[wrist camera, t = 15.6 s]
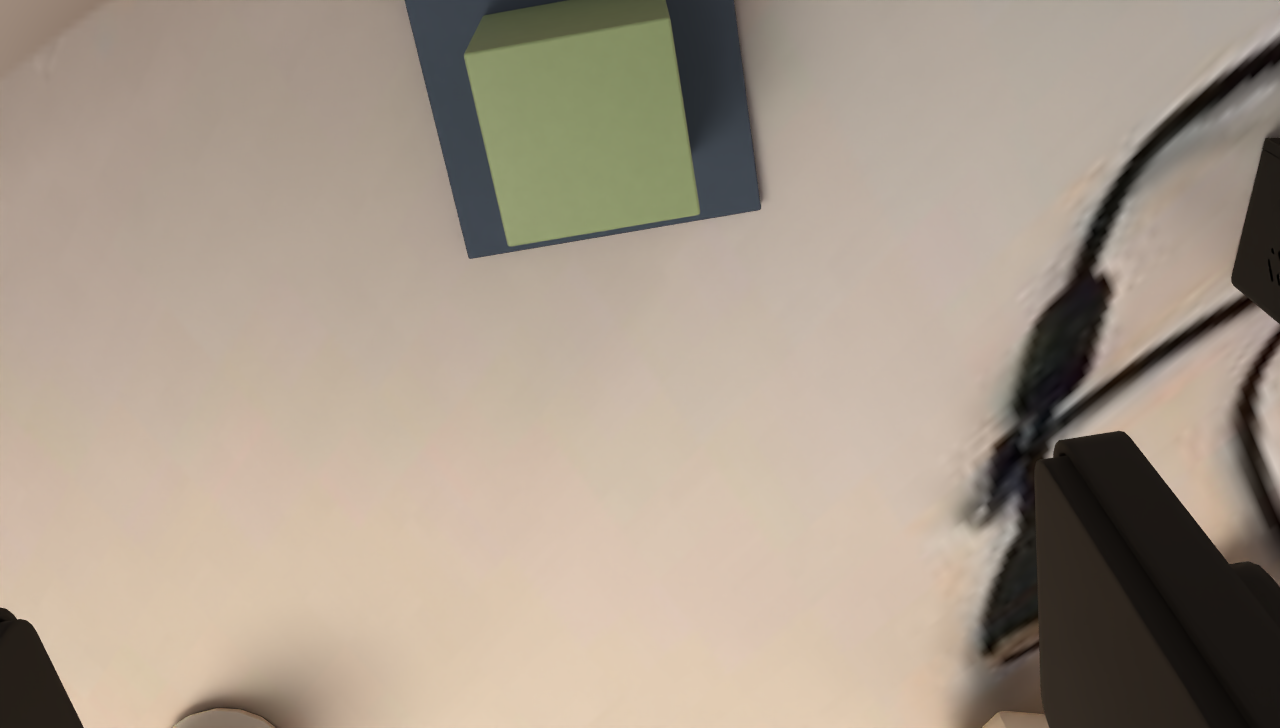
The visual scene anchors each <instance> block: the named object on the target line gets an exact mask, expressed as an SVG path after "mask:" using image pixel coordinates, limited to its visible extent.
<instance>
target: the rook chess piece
mask: <svg viewBox="0 0 1280 728" xmlns="http://www.w3.org/2000/svg"><path fill="white" fill-rule="evenodd" d="M172 728H275V727H274V726H273V725H271V724H270V723H269V722H268V721H266V720H265V719H264V718H263V717H260V716H258V715H255V714H252V713H250V712H247V711H244V710H241V709H228V708H215V709H211V710H208V711H204V712H200V713H196V714H193V715H190V716H187V717H185V718H184V719H183V720H181V721H180V722H179V723H177V724H176V725H175V726H173V727H172Z"/></svg>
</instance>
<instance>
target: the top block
mask: <svg viewBox="0 0 1280 728" xmlns="http://www.w3.org/2000/svg"><path fill="white" fill-rule="evenodd" d="M464 59H465V64H466V68H467V72H468V77H469V81H470V85H471V89H472V94H473V98H474V102H475V107H476V111H477V115H478V120H479V124H480V128H481V133H482V137H483V141H484V145H485V150H486V154H487V158H488V163H489V167H490V171H491V176H492V180H493V184H494V189H495V193H496V197H497V201H498V206H499V210H500V214H501V219H502V223H503V227H504V232H505V236H506V240H507V244H508V246H517V245H523V244H529V243H535V242H541V241H547V240H553V239H559V238H564V237H570V236H576V235H582V234H588V233H594V232H600V231H606V230H612V229H618V228H624V227H630V226H635V225H641V224H647V223H653V222H659V221H665V220H671V219H677V218H683V217H689V216H695V215H698V214H700V207H699V201H698V194H697V188H696V181H695V175H694V168H693V162H692V155H691V149H690V142H689V136H688V130H687V123H686V117H685V110H684V104H683V97H682V91H681V84H680V78H679V71H678V65H677V58H676V52H675V46H674V39H673V33H672V26H671V20H670V16H669V12H668V8H667V4H666V0H567V1H561V2H556V3H550V4H545V5H539V6H534V7H528V8H522V9H517V10H511V11H506V12H500V13H495V14H489V15H484V16H483V17H482V19H481V21H480V23H479V25H478V27H477V29H476V31H475V33H474V35H473V37H472V39H471V41H470V43H469V45H468V47H467V49H466V51H465V53H464Z"/></svg>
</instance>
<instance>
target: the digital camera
mask: <svg viewBox="0 0 1280 728" xmlns="http://www.w3.org/2000/svg"><path fill="white" fill-rule="evenodd" d="M1231 278H1232V284H1233V285H1234V286H1235V287H1236V288H1237V289H1238V290H1240V291H1241V292H1242V293H1243V294H1244V295H1245V296H1247V297H1248V298H1249V299H1250V300H1251V301H1253V302H1254V303H1255V304H1256V305H1257V306H1259V307H1260V308H1261V309H1262V310H1263V311H1265V312H1266V313H1267V314H1268V315H1269V316H1271V317H1272V318H1273V319H1274V320H1275V321H1277V322H1278V323H1279V324H1280V138H1266V139H1265V143H1264V146H1263V151H1262V155H1261V160H1260V164H1259V168H1258V172H1257V176H1256V180H1255V184H1254V188H1253V192H1252V196H1251V200H1250V204H1249V208H1248V212H1247V216H1246V220H1245V225H1244V229H1243V233H1242V237H1241V241H1240V245H1239V249H1238V253H1237V257H1236V261H1235V265H1234V269H1233V273H1232V277H1231Z"/></svg>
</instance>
